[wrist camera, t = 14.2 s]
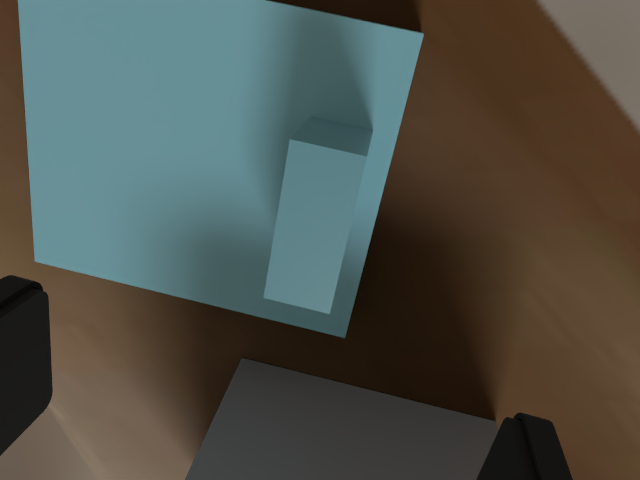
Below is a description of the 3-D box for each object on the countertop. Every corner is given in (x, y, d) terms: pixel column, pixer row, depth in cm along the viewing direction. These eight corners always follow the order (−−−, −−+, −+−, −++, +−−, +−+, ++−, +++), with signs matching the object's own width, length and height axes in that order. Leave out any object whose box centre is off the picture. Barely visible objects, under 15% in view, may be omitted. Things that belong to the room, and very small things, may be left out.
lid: (421, 32, 19) (430, 38, 14) (348, 315, 25) (334, 396, 20) (49, -47, 20) (-80, -71, 15) (60, 244, 26) (-30, 304, 20)
